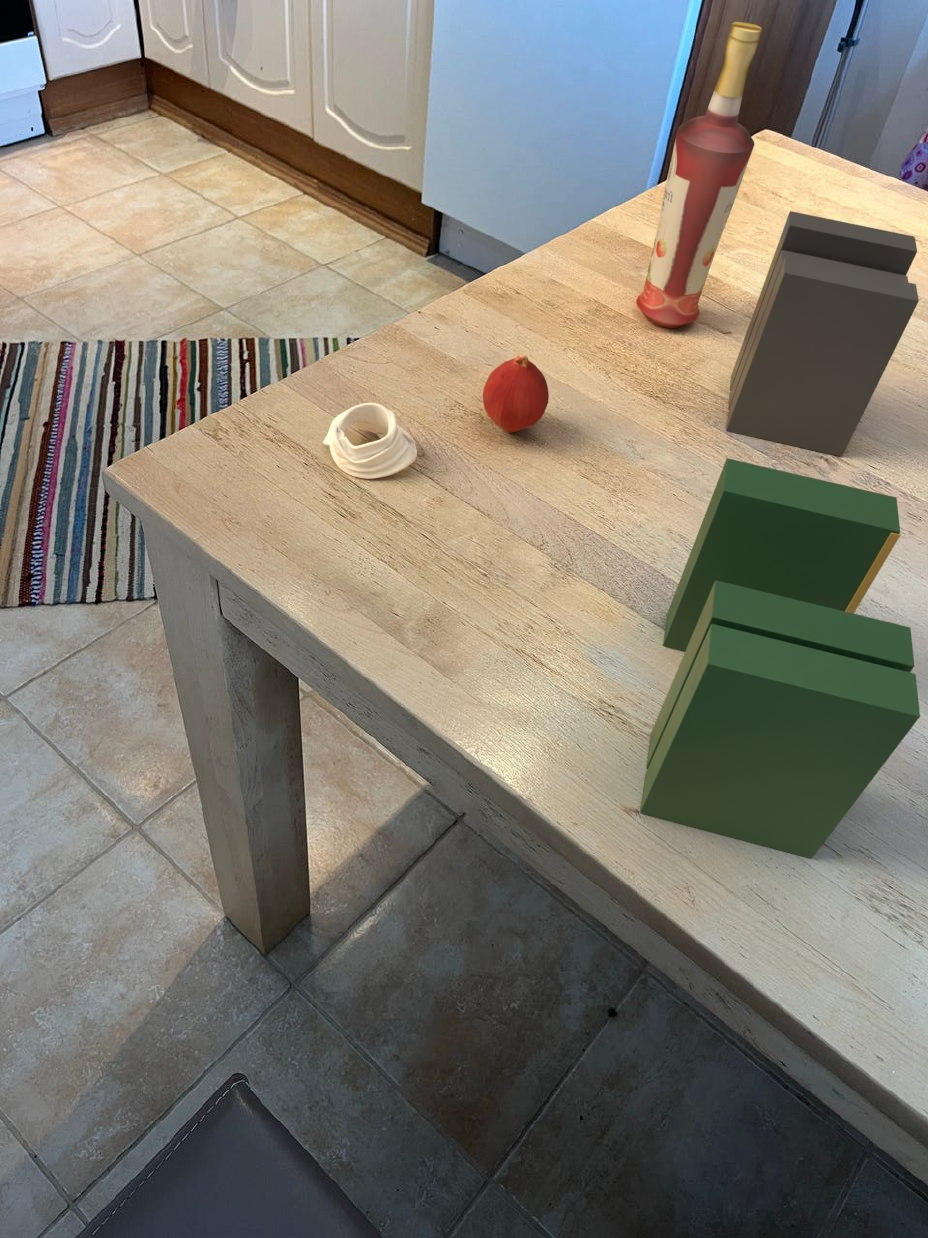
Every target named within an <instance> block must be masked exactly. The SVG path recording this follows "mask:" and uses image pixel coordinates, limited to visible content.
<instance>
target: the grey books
mask: <svg viewBox="0 0 928 1238" xmlns="http://www.w3.org/2000/svg"><path fill="white" fill-rule="evenodd" d="M917 254H918V247H917V242H916V237H915V236H914V235H910V234H904V233H901V232H900V233H899V232H895V231H890V230H885V229H880V228H874V227H870V226H866V225H860V224H856V223H850V222H845V221H841V220H836V219H831V218H826V217H821V216H817V215H811V214H807V213H801V212H798V211H797V212H796V211H792V210H790V211H789V212H788V215H787V218H786V221H785V223H784V226H783V229H782V232H781V235H780V238H779V241H778V243H777V246H776V249H775V252H774V254H773V257H772V259H771V263H770V266H769V268H768V271H767V274H766V277H765V280H764V282H763V284H762V287H761V291H760V293H759V297H758V299H757V301H756V304H755V308H754V311H753V312H752V316H751V318H750V320H749V325H748V326H747V330H746V333H745V336H744V339H743V341H742V344H741V347H740V349H739V352H738V354H737V358H736V361H735V363H734V366H733V369H732V371H731V375H730V384H729V385H730V386H729V395H728V406H727V410H728V411H727V415H726V416H727V417H726V427H725V431H727V432H730V433H735V434H739V435H742V436H743V435H745V436H747V437H753V438H756V439H762V440H765V441H770V442H774V443H780V444H783V445H788V446H792V447H796V448H801V449H806V450H810V451H814V452H817V453H818V452H819V453H822V454H827V455H832V456H836V457H840V458H842V457H843V456H844V454H845V451H846V450H847V447H848V445H849V443H850V442H851V440H852V437H853V436H854V434H855V431H856V429H857V428H858V425H859V423H860V421H861V419H862V417H863V415H864V413H865V411H866V410H867V407H868V405H869V403H870V401H871V399H872V397H873V395H874V393H875V391H876V389H877V387H878V385H879V383H880V381H881V378H882V377H883V374H884V373H885V371H886V368H887V366H888V364H889V363H890V360H891V358H892V356H893V354H894V352H895V350H896V348H897V346H898V344H899V343H900V340H901V338H902V337H903V334H904V332H905V330H906V328H907V326H908V324H909V322H910V320H911V318H912V316H913V314H914V312H915V310H916V308H917V305H918V303H919V301H920V300H919V295H918V294H919V293H918V288H917V284H916V283H913V282H909V277H908V272H909V270H910V269H911V266H912V264H913V262H914V260H915V258H916V255H917Z"/></svg>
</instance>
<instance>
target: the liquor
mask: <svg viewBox="0 0 928 1238" xmlns="http://www.w3.org/2000/svg"><path fill="white" fill-rule="evenodd" d="M762 31H763V28H762V27H761V26H759V25H757V24H754V23H751V22H747V21H734V22H732V23H731V26H730V29H729V33H728V37H727V41H726V45H725V51H724V61H723V65H722V68H721V71H720V74H719V77H718V79H717V81H716V84H715V88H714V90H713V93H712V96H711V99H710V100H709V104H708V107H707V110H706V112H705V114H704V115H700V116H694V117H693V118H690V119H689V120H687V121H685V122H683V123H682V124H680V125H679V126H678V128H677V129H676V134H675V140H674V144H673V148H672V149H673V150H672V154H671V159H670V163H669V168H668V173H667V178H666V181H665V187H664V192H663V198H662V203H661V207H660V213H659V219H658V224H657V227H656V233H655V237H654V242H653V245H652V246H653V247H652V251H651V256H650V261H649V265H648V269H647V273H646V278H645V282H644V286H643V291H642V292H641V293H640V294H639V295H638V296H637V298H636V306H637V307H638V309H639V310H640V312H641V314H643V317H644V318H645V319H646V320H647V321H648V322H649V323H651V324H653V325H655V326H657V327H659V328H663V329H664V328H665V329H676V328H680V327H683V326H685V325H687V324H689V323H691V322H694V321H695V320H697V319H698V317H699V316H700V308H699V302H700V299H701V296H702V293H703V289H704V286H705V284H706V281H707V278H708V275H709V272H710V269H711V266H712V263H713V261H714V258H715V255H716V252H717V249H718V246H719V243H720V241H721V238H722V235H723V233H724V230H725V227H726V225H727V222H728V219H729V217H730V214H731V212H732V209H733V206H734V204H735V201H736V200H737V199H736V198H737V196H738V193H739V190H740V187H741V184H742V181H743V178H744V176H745V172H746V169H747V167H748V164H749V161H750V158H751V155H752V153H753V150H754V147H755V141H754V139H753V137H752V136H751V134H750V132H749V131H748V130H747V128H746V127H744V126H743V125H742V124H741V123H739V122H738V120H739V114H740V108H741V105H742V104H741V103H742V100H743V95H744V91H745V85H746V80H747V77H748V76H747V75H748V71H749V68H750V66H751V64H752V61H753V59H754V56H755V54H756V52H757V49H758V46H759V41H760V38H761V36H762Z"/></svg>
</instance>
